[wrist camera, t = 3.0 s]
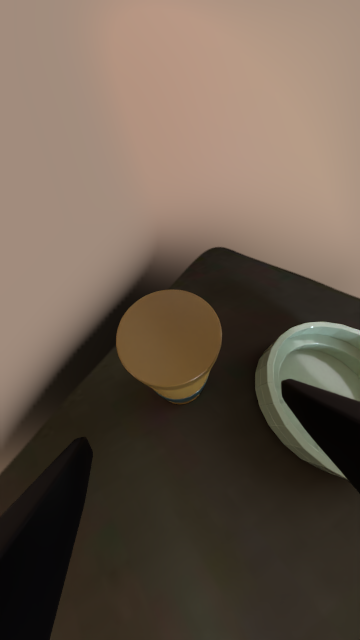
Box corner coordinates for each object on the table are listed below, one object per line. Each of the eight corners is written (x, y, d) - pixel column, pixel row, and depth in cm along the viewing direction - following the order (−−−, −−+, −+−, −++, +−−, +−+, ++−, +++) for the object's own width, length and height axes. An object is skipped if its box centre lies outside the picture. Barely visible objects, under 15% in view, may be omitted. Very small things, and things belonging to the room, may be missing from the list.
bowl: (393, 510, 15) (460, 540, 11) (237, 424, 18) (248, 425, 15) (388, 366, 20) (432, 354, 16) (269, 322, 24) (283, 304, 20)
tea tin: (192, 416, 19) (194, 411, 8) (145, 389, 20) (93, 354, 10) (214, 365, 21) (237, 309, 10) (170, 344, 23) (151, 277, 12)
